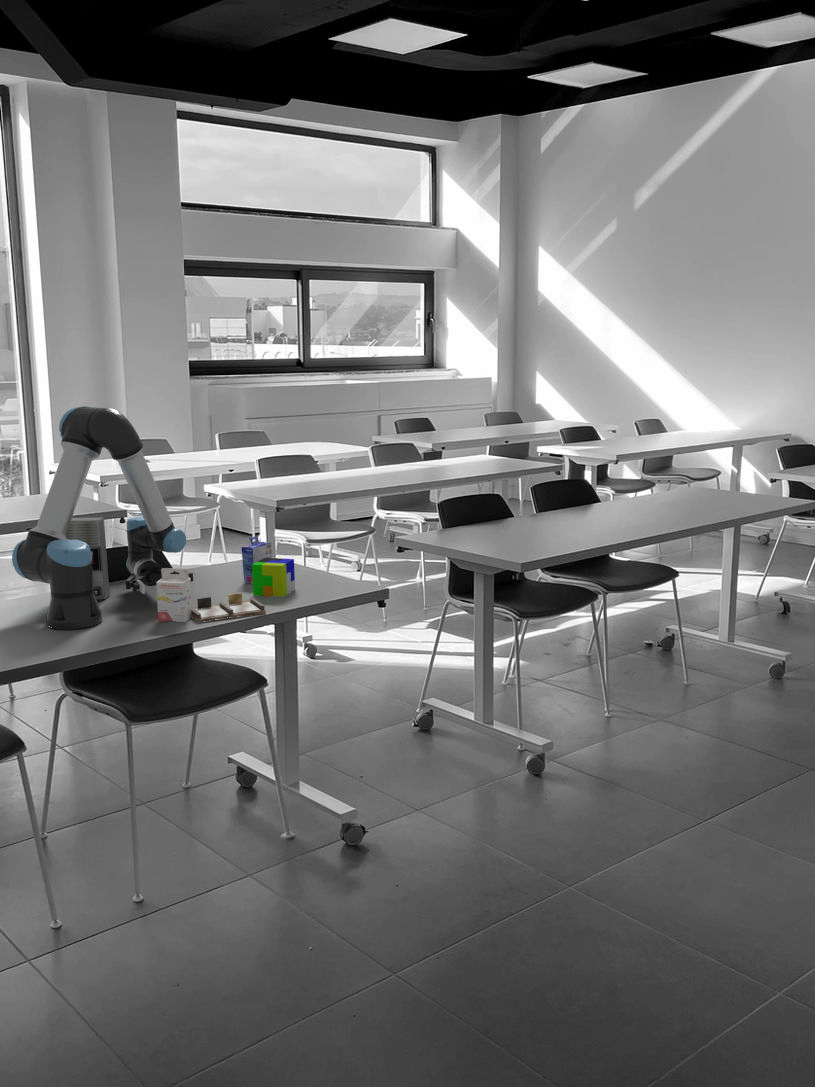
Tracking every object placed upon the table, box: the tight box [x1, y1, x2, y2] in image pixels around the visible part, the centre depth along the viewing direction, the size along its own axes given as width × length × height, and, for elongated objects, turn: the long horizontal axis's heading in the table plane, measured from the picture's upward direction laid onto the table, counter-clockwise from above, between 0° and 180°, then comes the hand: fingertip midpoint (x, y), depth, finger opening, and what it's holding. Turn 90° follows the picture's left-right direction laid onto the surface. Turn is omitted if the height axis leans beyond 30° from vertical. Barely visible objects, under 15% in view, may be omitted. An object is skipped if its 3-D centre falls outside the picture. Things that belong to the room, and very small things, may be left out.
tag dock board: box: [191, 592, 267, 623], centre depth 310 cm, size 20×14×4 cm
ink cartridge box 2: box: [241, 536, 274, 585], centre depth 348 cm, size 10×6×14 cm, turn 148°
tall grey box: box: [66, 517, 111, 600], centre depth 327 cm, size 14×6×25 cm, turn 90°
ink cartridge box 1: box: [156, 567, 192, 623], centre depth 302 cm, size 9×5×15 cm, turn 84°
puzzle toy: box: [252, 557, 296, 598], centre depth 333 cm, size 10×10×10 cm
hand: (166, 586), depth 310 cm, fingers open, 13 cm apart
